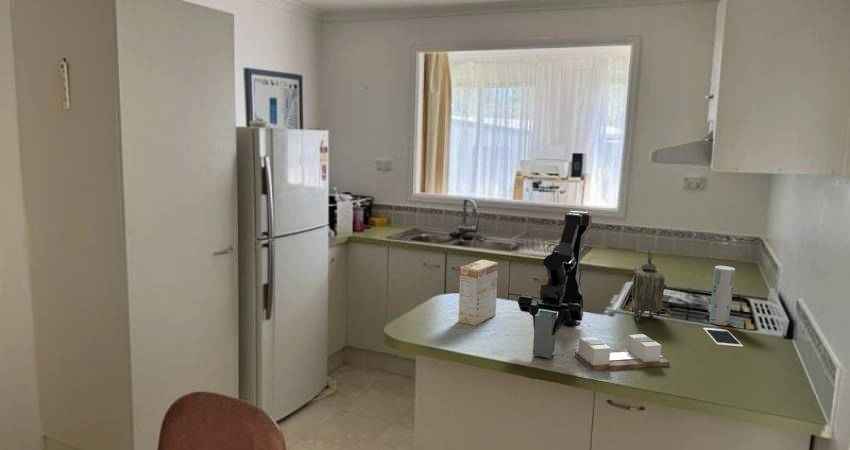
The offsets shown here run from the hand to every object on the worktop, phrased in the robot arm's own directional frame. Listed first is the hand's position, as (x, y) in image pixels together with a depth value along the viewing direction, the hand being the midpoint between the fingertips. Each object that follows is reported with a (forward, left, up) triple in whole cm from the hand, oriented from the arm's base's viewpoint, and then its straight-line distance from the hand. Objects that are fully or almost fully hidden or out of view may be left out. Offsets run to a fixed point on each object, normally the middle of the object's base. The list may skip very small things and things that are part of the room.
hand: (543, 333), depth 171 cm
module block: (-1, -1, -7) cm, 7 cm away
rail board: (-15, +16, -7) cm, 23 cm away
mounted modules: (-15, +16, -6) cm, 23 cm away
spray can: (-77, +20, -8) cm, 80 cm away
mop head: (-60, +1, -8) cm, 60 cm away
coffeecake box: (-11, -36, -8) cm, 38 cm away
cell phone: (-62, +27, -8) cm, 68 cm away
